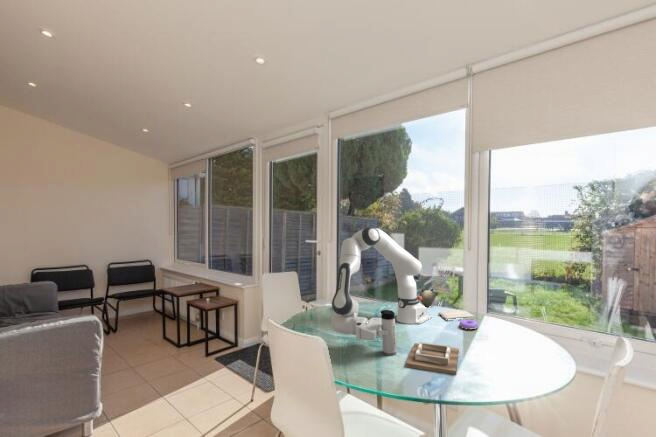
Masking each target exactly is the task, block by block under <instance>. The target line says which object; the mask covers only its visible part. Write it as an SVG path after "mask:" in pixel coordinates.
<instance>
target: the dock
mask: <svg viewBox="0 0 656 437" xmlns="http://www.w3.org/2000/svg"><path fill="white" fill-rule="evenodd" d="M458 354H459V355H460V348H457V347H451V345H444V344H438V343H437V344H436V343H429V342H421V341H420V342H419V343H418V342H415V343H414V344H413V347H412V349H411V350H410V353H409V355H408V358H407V360H406V362H405V367H406V368H413V369H418V370H424V371H430V372H437V373H442V374H443V373H444V374H450V375H457V371H458V364H457V363H459V362H458V361H459V356H458Z"/></svg>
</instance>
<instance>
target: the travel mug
mask: <svg viewBox="0 0 656 437" xmlns="http://www.w3.org/2000/svg"><path fill="white" fill-rule="evenodd" d="M379 312H380V315H381V317H380V318H381V320H382V330H388V331H389V333H388V335H381V338H382V340H381V341H382V353H383V354H384V355H387V356H394V355H396V354H397V337H396V335H397V334H396V319H395V318H396V315H395V312H394V311H393V310H390V309H382V310H380V311H379Z"/></svg>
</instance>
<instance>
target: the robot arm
mask: <svg viewBox="0 0 656 437" xmlns="http://www.w3.org/2000/svg"><path fill="white" fill-rule="evenodd" d="M371 247H372V248H374V249H375V250H376V251H377V252H378V253H379V254H380V255H382V257H383V258H384V259H386V260H387V261H388V262H390V263H391V266H392V268H393V271H394V274H395V278H396V284H397V310H396V311H397V312H396V315H395V318H396V319H395V321H397V322H399V323H400V324H408V325H412V324H413V325H421V323H422V322H424V321H425V322H427V321H428V319H429V320H431V319H432V318H433V316H432V315H431V314H429V313H428V307H425V306H424V304H423V303H422V302H421V301H420V300H422V297H420V296H417V295H418V292H417V282H416V281H415V278H414V277H416V276H418V275H420V274H421V272H422V270H423V265H422V262H420V260H418V259H417V258H416V257H414V255H412V254H411V253H410V252H409V251H407V250H405V248H403V247H401V246H400V245H399V244H398V243H397V242H396V241H395V240H394V239H393V238H392V237H390V235H388V233H386V232H385V231H383V230H382V229H380V228H378V227H373V226H367V227H365V228H362V229H360V230H358V231H357V232H355V233H353V234H352V235H350V237H349V238H345V239H344V240H343V241H342V244H341V250H340V255H339V256H340V258H339V259H340V260H339V268H338V273H337V280H336V289H335V293H334V295H333V297H332V300H331V308H332V310H333V311H334V314H333V315H332V316H331V318H330V328H331V329H332V331H334V332H336V333H338V334H343V335H354V336H355V338H356V339H355V340H359V341H360V340H365V341H373V340H376V338H377V337H378V336H382V335H388V333H389V331H388V330H382V320H381V317H371V318H369V319H368V317H365V316H358V315H359V312H360V304H359V302H358V301H357V300H356V299H355V298H353V297H351V295H350V286H351V285H350V284H351V277H352V275H354V274H356V273H358V272H359V270H360V267H361V259H362V258H361V256H362V255H361V254H362V253H361V252H362V251H365V250H368V249H370V248H371ZM431 317H432V318H431ZM430 318H431V319H430ZM426 320H427V321H426ZM425 322H424V323H425ZM422 324H423V323H422Z"/></svg>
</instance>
